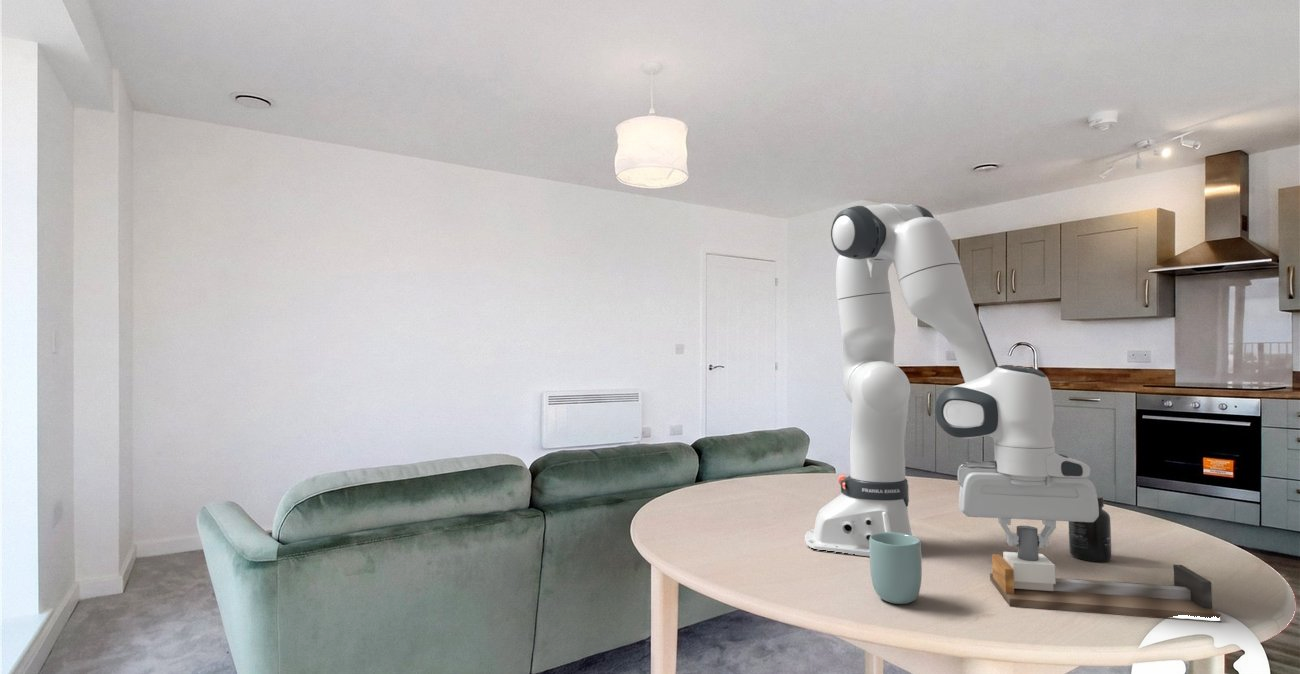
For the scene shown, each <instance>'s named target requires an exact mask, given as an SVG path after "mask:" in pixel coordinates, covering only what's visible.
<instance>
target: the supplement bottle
mask: <svg viewBox="0 0 1300 674" xmlns="http://www.w3.org/2000/svg"><path fill="white" fill-rule="evenodd" d="M1097 499H1098V506H1099V516H1098V518H1097V519H1096V520H1095V521H1094V522H1073V521H1067V522H1068V544H1069V545H1068V548H1069V554H1070V555H1071V557H1073V558H1076V559H1077V560H1083V561H1088V562H1094V563H1095V562H1096V563H1106V562H1109V561H1111V559H1112V558H1113V557H1112V553H1113V552H1112V534H1111V533H1112V532H1111V531H1112V529H1111V525H1112V524H1111V516H1110V514H1109V513H1108V512H1107V511H1106V510H1104V509H1103V508H1104V506H1105V504H1104V496H1101V495H1098V494H1097Z"/></svg>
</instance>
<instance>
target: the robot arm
mask: <svg viewBox="0 0 1300 674" xmlns="http://www.w3.org/2000/svg"><path fill="white" fill-rule="evenodd" d="M830 238H831V242H832V246H833V249H834V250H835V251H836V252H837V253H838V254H839V255H838V257H837V259H836V268H835V292H836V293H835V295H836V300H837V301H836V302H837V310H838V311H837V313H838V319H839V327H840V334H841V335H840V336H841V337H840V338H841V363H842V364H841V365H842V379H843V389H844V393H845V395H846V398H847V399H848V401H849V402H850V403H852V405H851V406H852V410H851V411H852V412H851V426H850V434H849V435H850V436H849V440H848V441H849V442H848V443H849V470H850V471H849V473H850V475H849V476H846V475H843V474H841V475H839V477H838V479H837V481H838V484H839V485H840V494H839V495H838V496H837V497H835V498H833V499H832V500H831V501H829V502H828V503H826V504H825V505H823V506H821V508H820V509H819V510H818V512H817V514H816V518H815V522H814V528H812V529H808V531H806V532H805V535H804V543H805V542H806V544H807V545H809V546H810V547H812V548H815V549H821V550H828V551H835V552H834V553H836V552H842V553H841V554H844V553H848V554H847V555H853V554H855V556H861V557H862V556H863V557H870V553H869V538H870V536H871V535H872V534H876V533H882V532H896V533H903V534H908V535H911V536H913V533H912V528H911V524H910V522H911V521H910V518H909V516H910V515H909V511H908V509H909V508H908V507H909V502H910V491H909V490H910V489H909V483H908V482H909V481H908V480H907V478H906V455H905V452H906V451H905V441H906V440H905V439H906V430H907V422H908V415H909V414H908V412H909V400H910V397H911V388H912V387H911V384H910V381H909V378H908V376H907V375H906V373H905V372H904V371H903V370H902V369H901V368H900V367H899V366H898V365H896V364H895V353H894V352H895V334H896V325H895V324H896V323H895V317H894V309H893V301H892V294H891V287H890V281H889V270H890V267H891V266H892V264H893V265H894V268H895V273H896V275H897V280H898V284H899V287H900V291H901V294H902V297H903V300H904V302H905V304H906V306H907V308H908V309H909V311H910V313H911V314H912V315H913V316H914V317H915V318H916V319H918V320H919V321H921V322H923V323H925V324H926V325H929V326H930V327H931V328H933V329H935V330H936V331H938V332H939V333H940V334H941V335H942V336H943V337H944V338H945V339H946V341H947V342H948V343H949V344H950V347H951V349H952V351H953V354H954V357H955V360H956V361H957V364H958V367H959V370H960V372H961V375H962V378H963V380H964V383H960V384H957V385H953V386H951V387H948V388H946V389H944V390H943V391H942V392H941V393H940V394H939V395H938V396H937V398H936V401H935V403H934V416H935V419H936V422H937V423H938V425H939V427H940V429H942V430H943V431H944V432H945V433H946V434H948V435H949V436H952V437H954V438H959V439H965V440H966V439H975V438H983V437H991V438H992V439H993V452H994V453H993V454H994V461H989V460H988V461H985V460H984V461H983V460H982V461H975V460H968V461H966V462H965V463H962V464H960V465H959V466H958V468H957V470H956V471H957V472H956V475H957V477H956V479H957V483H958V485H959V495H958V508H959V510H960V511H961V513H962V514H964V515H965V516H966V517H969V518H986V519H987V518H988V519H989V518H990V519H997V522H998V524H999V525H1000V526H1001V528H1002V529H1003V531H1004V533H1005V539H1006V540H1005V541H1006V544H1007V545H1008V546H1011V547H1012V546H1016V547H1017V546H1019V542H1018V540H1019V536H1018V535H1017V532H1012V530H1011V529H1010V528H1009V526H1011V524H1012V522H1011V521H1012V520H1032V521H1035V520H1036V521H1041V523H1042V524H1043V525H1044V527H1043V528H1042V531H1041V532H1040V533H1038V548H1050V547H1049V546H1050V544H1049V543H1050V541H1049V540H1050V537H1051V536H1052V534H1053V532H1054V531H1055V530H1056V528H1057V522H1068V521H1073V522H1094V521H1095V520H1096V519H1097V518H1098V516H1099V506H1098V499H1097V495H1098V494H1097V490H1096V487H1095V485H1094V483H1093V482H1092V481H1091V479H1089V477H1090V475H1091V468H1090V467H1091V466H1089V465H1088V464H1087V463H1085V462H1082V461H1080V460H1078V459H1075V458H1071V457H1069V456H1067V455H1064V454H1061V453H1056V447H1055V446H1056V444H1055V443H1056V442H1055V439H1054V437H1053V433H1052V429H1053V428H1052V427H1053V424H1054V421H1055V412H1054V403H1053V402H1054V401H1053V400H1054V399H1053V394H1052V393H1053V391H1052V388H1051V383H1050V380H1049V377H1048V376H1047V375H1046V374H1045V373H1044V372H1043V371H1041V370H1039V369H1037V368H1033V367H1029V366H1028V367H1027V366H1023V365H1013V364H1001V365H998V363H997V360H996V358H995V354H994V352H993V348H992V347H991V345H990V342H989V339H988V337H987V334H986V332H985V329H984V327H983V323H982V322H981V319H980V318H979V315H978V313H977V309H976V307H975V305H974V302H973V299H972V297H971V293H970V291H969V287H968V284H967V281H966V277H965V273H964V271H963V267H962V265H961V261H960V259H959V255H958V253H957V250H956V247H955V246H954V243H953V242H952V238H951V237H950V235H949V233H948V231H947V230H946V228H945V226H944V224H943V223H942V222H941V221H940V220H938V219H937V218H935V217H934V215H933V214H932V212H931V211H929V210H928V209H927V208H925V207H923V206H920V205H918V204H917V205H916V204H912V203H911V204H910V203H908V204H901V203H900V204H899V203H881V204H872V205H871V204H870V205H864V206H863V205H854V206H851V207H847V208H845V209H842V210H841V211H840V212H838V213H837V215H836V216H835V218H834V219H833V221H832V225H831V229H830ZM806 544H805V545H806ZM807 545H806V546H807Z"/></svg>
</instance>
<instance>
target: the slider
mask: <svg viewBox="0 0 1300 674" xmlns="http://www.w3.org/2000/svg"><path fill="white" fill-rule="evenodd" d="M1016 534H1017V535H1018V536H1019V540H1018V542H1019V546H1016V547H1017V551H1016V552H1013V551H1002V558H1003V559H1004V560H1005V561H1006V562H1007V563H1008V564H1009V565H1010V566H1011V568H1012V569H1013V576H1014V588H1016V589H1031V590H1045V591H1054V590H1053V584H1056V581H1055V578H1056V565H1055V564H1054V563H1053V562H1052V561H1051V560H1050V559H1049V558H1048V557H1046V556H1045V555H1044V554H1043V553H1039V547H1038V534H1039V533H1038V527H1034V526H1032V525H1017V526H1016Z"/></svg>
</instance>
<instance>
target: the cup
mask: <svg viewBox="0 0 1300 674" xmlns="http://www.w3.org/2000/svg"><path fill="white" fill-rule="evenodd" d="M869 553H870V556H869V569H870V570H869V571H870V577H871V583H872V587H873V590H874V593H875V594H876V595H877V596H878V598H880V599H881V600H883V601H885V602H887V603H890V604H893V605H906V604H907V605H908V604H910V603H912V602H914V601H915V600H916V599H918V597H919V594H920V592H921V588H922V576H923V569H922V568H923V564H922V563H923V562H922V557H923V555H922V543H921V540H920V539H919V538H918V537H916V536H914V535H912V536H911V535H908V534H903V533H896V532H882V533H876V534H872V535H871V536H870V538H869Z"/></svg>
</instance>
